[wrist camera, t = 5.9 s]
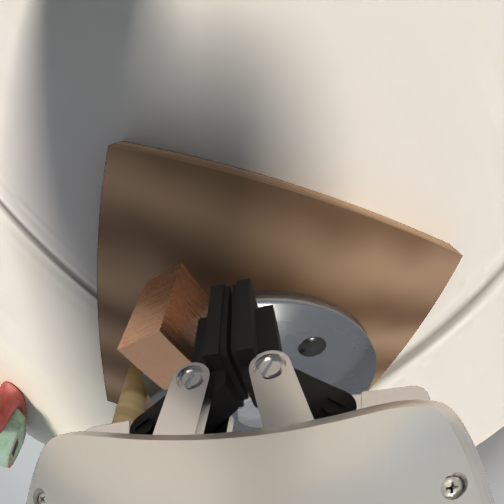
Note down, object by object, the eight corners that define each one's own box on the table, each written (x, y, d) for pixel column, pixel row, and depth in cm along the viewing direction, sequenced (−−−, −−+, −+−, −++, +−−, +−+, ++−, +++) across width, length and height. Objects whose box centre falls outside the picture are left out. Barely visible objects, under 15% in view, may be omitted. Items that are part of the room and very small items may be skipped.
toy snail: (30, 429, 37) (13, 478, 25) (2, 410, 35) (-19, 457, 22) (34, 389, 28) (3, 464, 16) (-6, 359, 26) (-43, 429, 14)
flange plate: (387, 388, 21) (405, 434, 16) (227, 442, 24) (226, 486, 19) (305, 195, 13) (339, 244, 8) (76, 322, 16) (46, 378, 12)
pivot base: (121, 141, 15) (29, 177, 7) (449, 244, 19) (517, 309, 12) (112, 386, 26) (91, 455, 18) (323, 420, 30) (336, 482, 22)
